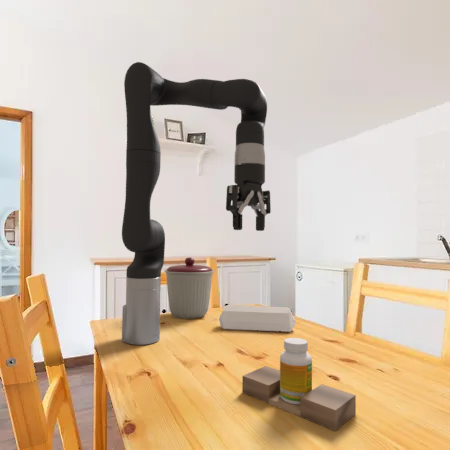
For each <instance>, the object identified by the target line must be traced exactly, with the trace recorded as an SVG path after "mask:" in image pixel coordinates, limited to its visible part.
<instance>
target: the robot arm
mask: <svg viewBox="0 0 450 450" xmlns="http://www.w3.org/2000/svg"><path fill="white" fill-rule="evenodd" d="M123 84H124V97H125V98H124V99H125V111H126V150H125V152H126V153H125V155H126V156H125V158H126V159H125V160H126V161H125V165H126V166H125V169H126V171H125V172H126V176H125V203H124V209H123V210H124V212H123V220H122V227H121V239H122V242H123V245H124V247H125V248H126V250H128V251H129V252H132V253H134V255H133V257H134V258H133V260H132V262H131V263H130V264H129V265H128V266H127V268H126V273H125V275H126V278H125V279H126V283H125V304H124V305H122V311H121V313H122V320H121V342H123V343H127V344H129V345H138V346H140V345H141V346H143V345H150V344H154V343H156V342H158V341H160V339H161V338H160V337H161V336H160V335H161V334H160V333H161V330H160V329H161V285H162V283H161V281H162V280H161V279H162V278H161V276H162V269H163V266H164V264H165V262H164V261H165V248H166V233H165V230H164V228H163V225H161V223H160V222H158V221H157V220H155V219H151V202H152V201H151V200H152V195H153V192H154V190H155V187H156V185H157V182H158V181H159V177H160V173H161V158H162V157H161V152H162V151H161V145H160V141H159V137H158V134H157V131H156V128H155V125H154V122H153V118H152V113H151V106H177V105H178V106H190V107H191V106H193V107H196V108H197V107H199V108H204V109H212V110H219V111H220V110H223V111H224V110H226V109H227V108H228V107H231V108H235V109H236V108H237V109H239V110H240V115H241V116H240V117H241V118H240V122H239V123H238V124H237V126H236V129H235V151H234V179H233V181H234V184H231V185H227V187H226V202H225V210H226V211H227V212H230V213H231V215H232V228H233V230H234V231H241V230H243V214H242V213H243V211H244V209H245V207H250V208H251V209H252V210H253V211H254V213H255V215H256V216H255V230H256V231H258V232H262V231H265V227H266V225H265V224H266V221H265V220H266V216H267V215H269V214H271V212H272V211H271V191H270V190H263V188H262V186H263V185H264V184H265V183H266V154H265V153H266V152H265V126H266V121H267V114H268V100H267V96H266V94H265V93H264V92H263V89H261V87H260V85H259V84H258V83H257V82H256V81H254V80H250V79H247V78H236V79H235V78H234V79H228V80H224V81H223V80H217V79H208V78H197V79H196V78H195V79H192V80H188V81H184V82H178V81H173V80H170V79H167V78H164V77H162V75H160V73H158V72H157V71H156V70H155V69H153V68H152V67H150V66H149V65H148V64H146V63H143V62H140V61H137V62H134V63H132V64H131V65H130V66H129V67H128V69H127V70H126V73H125V76H124V82H123Z"/></svg>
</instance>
